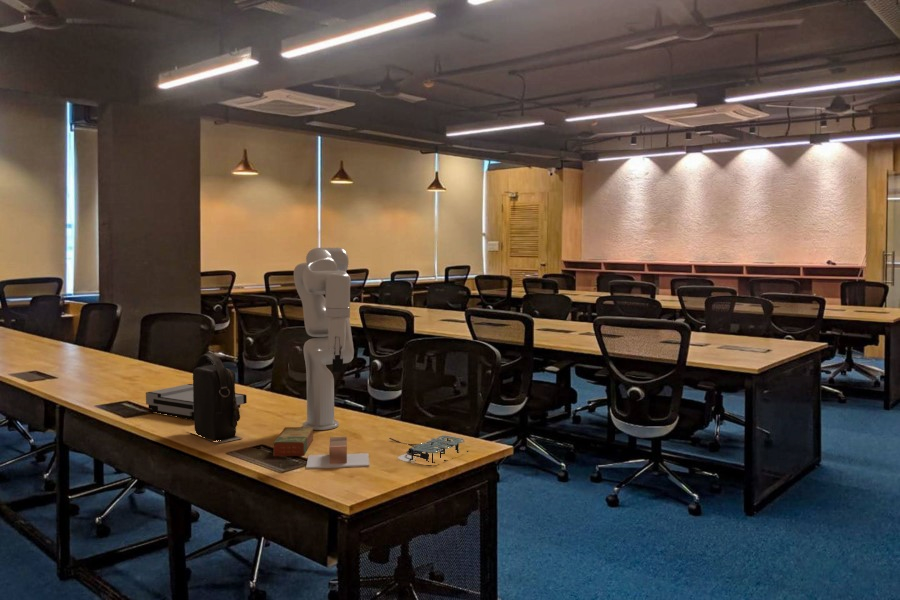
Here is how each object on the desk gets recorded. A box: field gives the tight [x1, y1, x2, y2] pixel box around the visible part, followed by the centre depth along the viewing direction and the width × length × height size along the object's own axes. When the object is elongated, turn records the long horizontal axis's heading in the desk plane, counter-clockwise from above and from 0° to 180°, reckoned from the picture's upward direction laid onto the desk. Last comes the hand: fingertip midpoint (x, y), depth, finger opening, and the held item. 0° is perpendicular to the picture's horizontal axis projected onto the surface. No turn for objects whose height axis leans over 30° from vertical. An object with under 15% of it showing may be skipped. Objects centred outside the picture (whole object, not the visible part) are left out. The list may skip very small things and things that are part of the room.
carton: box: [272, 426, 314, 457], centre depth 228 cm, size 10×18×5 cm, turn 2°
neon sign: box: [388, 434, 466, 464], centre depth 224 cm, size 21×4×29 cm
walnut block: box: [328, 436, 348, 464], centre depth 214 cm, size 5×5×11 cm
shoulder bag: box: [192, 352, 243, 444], centre depth 242 cm, size 23×9×28 cm, turn 46°
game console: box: [145, 383, 248, 421], centre depth 277 cm, size 21×32×8 cm, turn 60°
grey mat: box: [305, 452, 370, 470], centre depth 213 cm, size 12×18×1 cm, turn 98°
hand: (337, 371), depth 225 cm, fingers closed
